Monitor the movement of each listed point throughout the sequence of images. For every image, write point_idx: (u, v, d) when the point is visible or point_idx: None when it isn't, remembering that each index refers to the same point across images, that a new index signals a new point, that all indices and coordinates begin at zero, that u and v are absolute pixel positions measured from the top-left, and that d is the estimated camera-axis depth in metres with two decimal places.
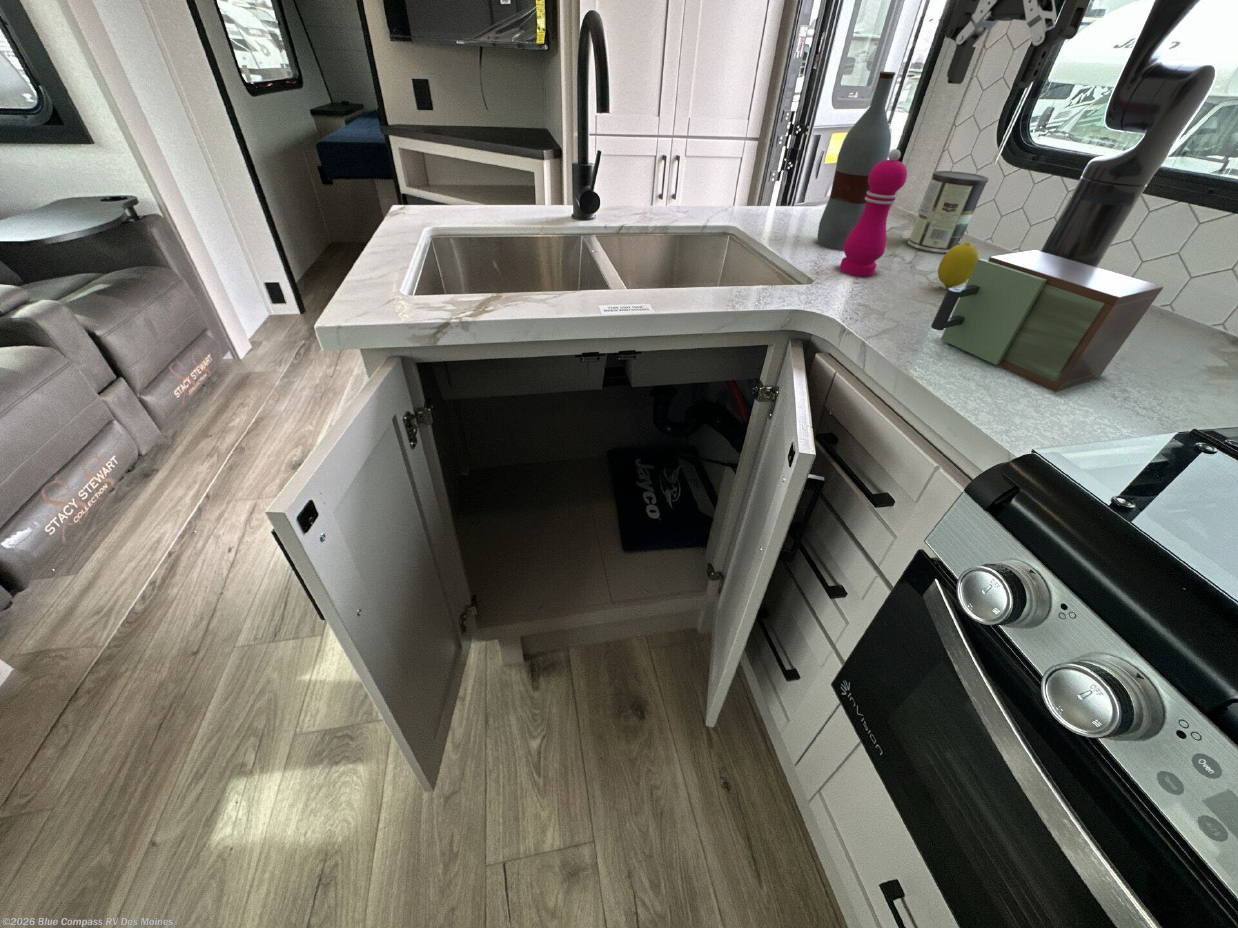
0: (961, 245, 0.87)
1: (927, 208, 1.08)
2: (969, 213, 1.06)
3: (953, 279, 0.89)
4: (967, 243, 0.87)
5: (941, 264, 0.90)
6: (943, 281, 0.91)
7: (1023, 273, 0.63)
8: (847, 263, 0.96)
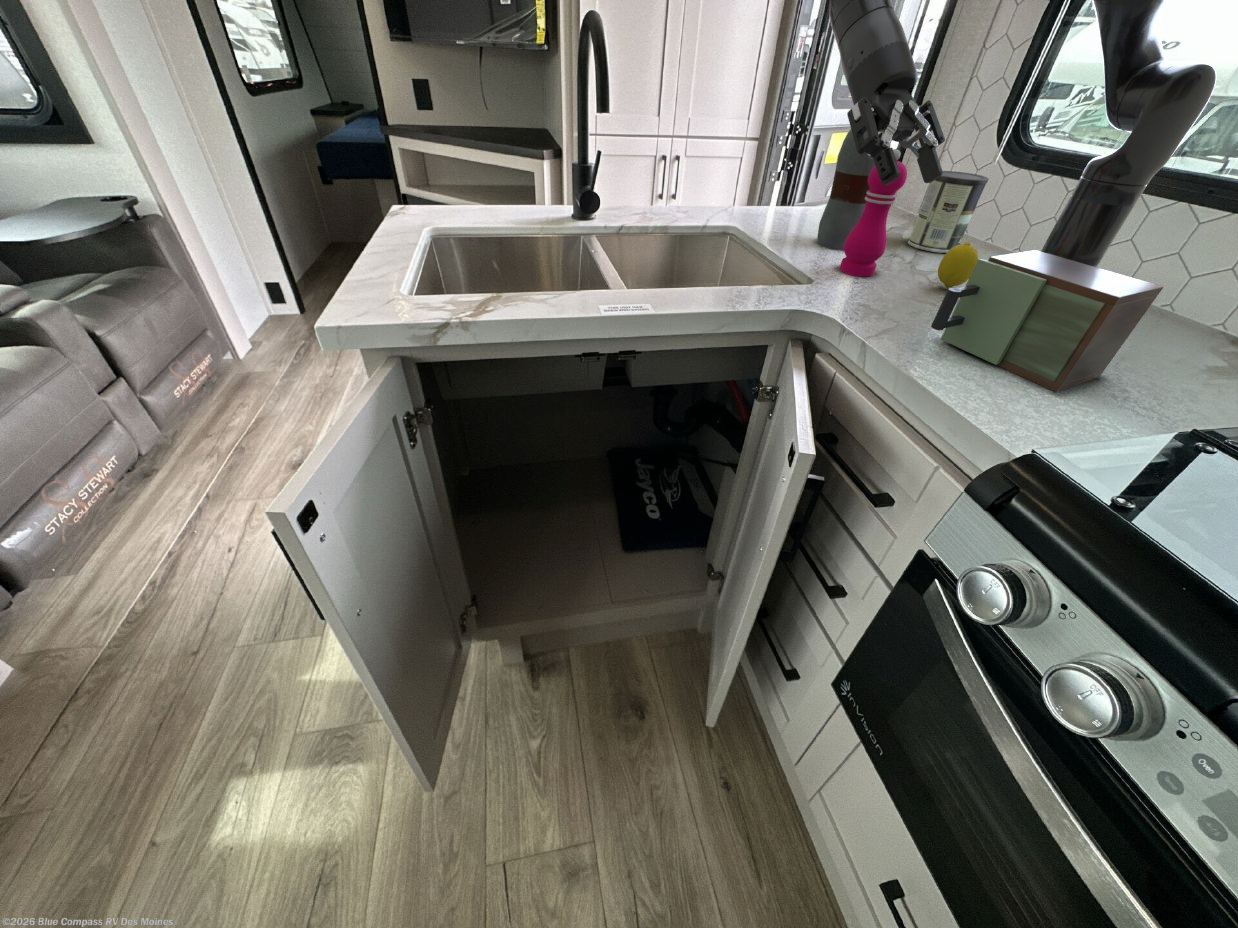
0: (961, 245, 0.87)
1: (927, 208, 1.08)
2: (969, 213, 1.06)
3: (953, 279, 0.89)
4: (967, 243, 0.87)
5: (941, 264, 0.90)
6: (943, 281, 0.91)
7: (1023, 273, 0.63)
8: (847, 263, 0.95)
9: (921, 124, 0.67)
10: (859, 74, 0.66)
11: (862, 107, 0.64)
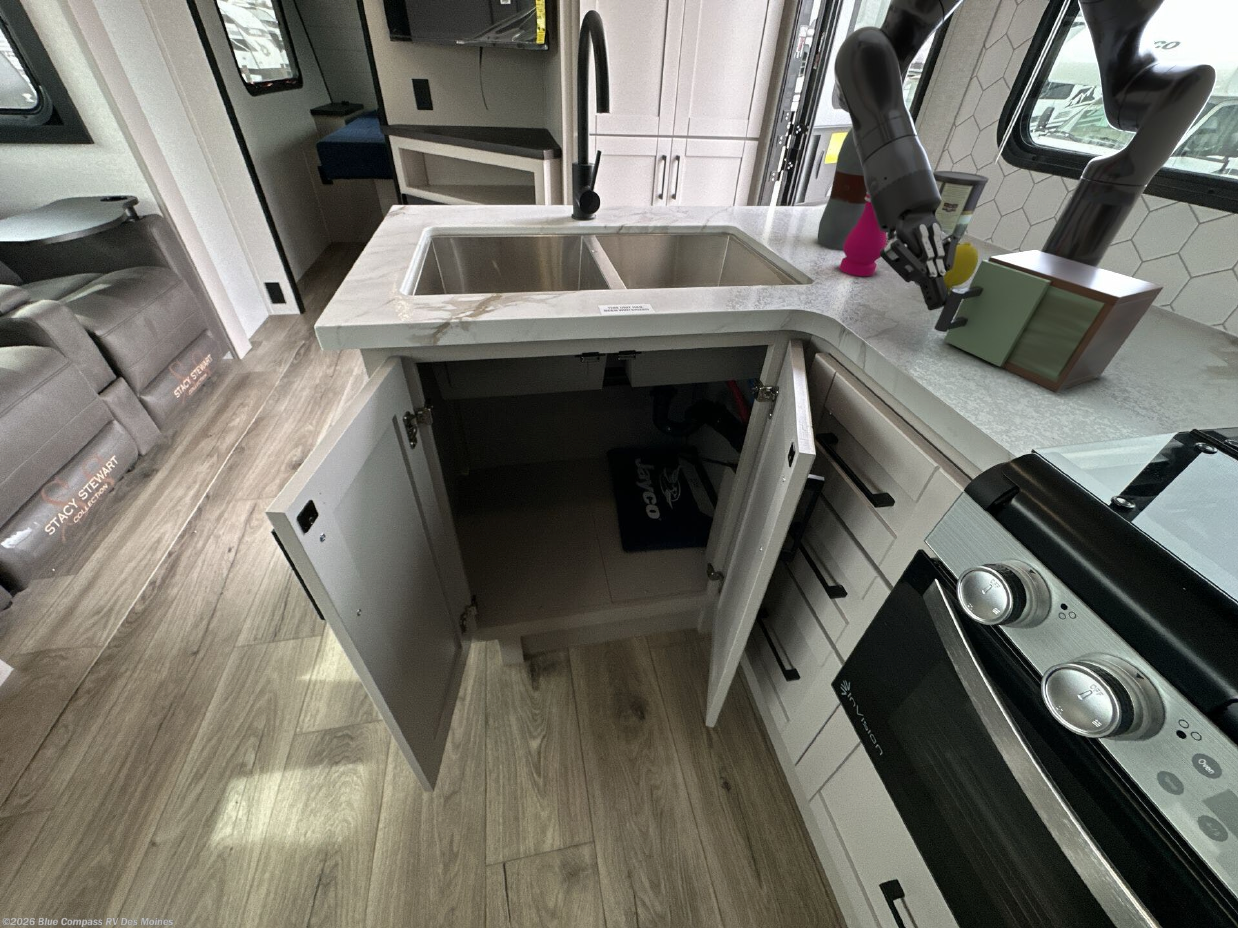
0: (961, 245, 0.87)
1: None
2: (969, 213, 1.06)
3: (953, 279, 0.89)
4: (967, 243, 0.87)
5: None
6: None
7: (1027, 274, 0.62)
8: (847, 263, 0.95)
9: (936, 247, 0.67)
10: (883, 198, 0.67)
11: (898, 251, 0.65)
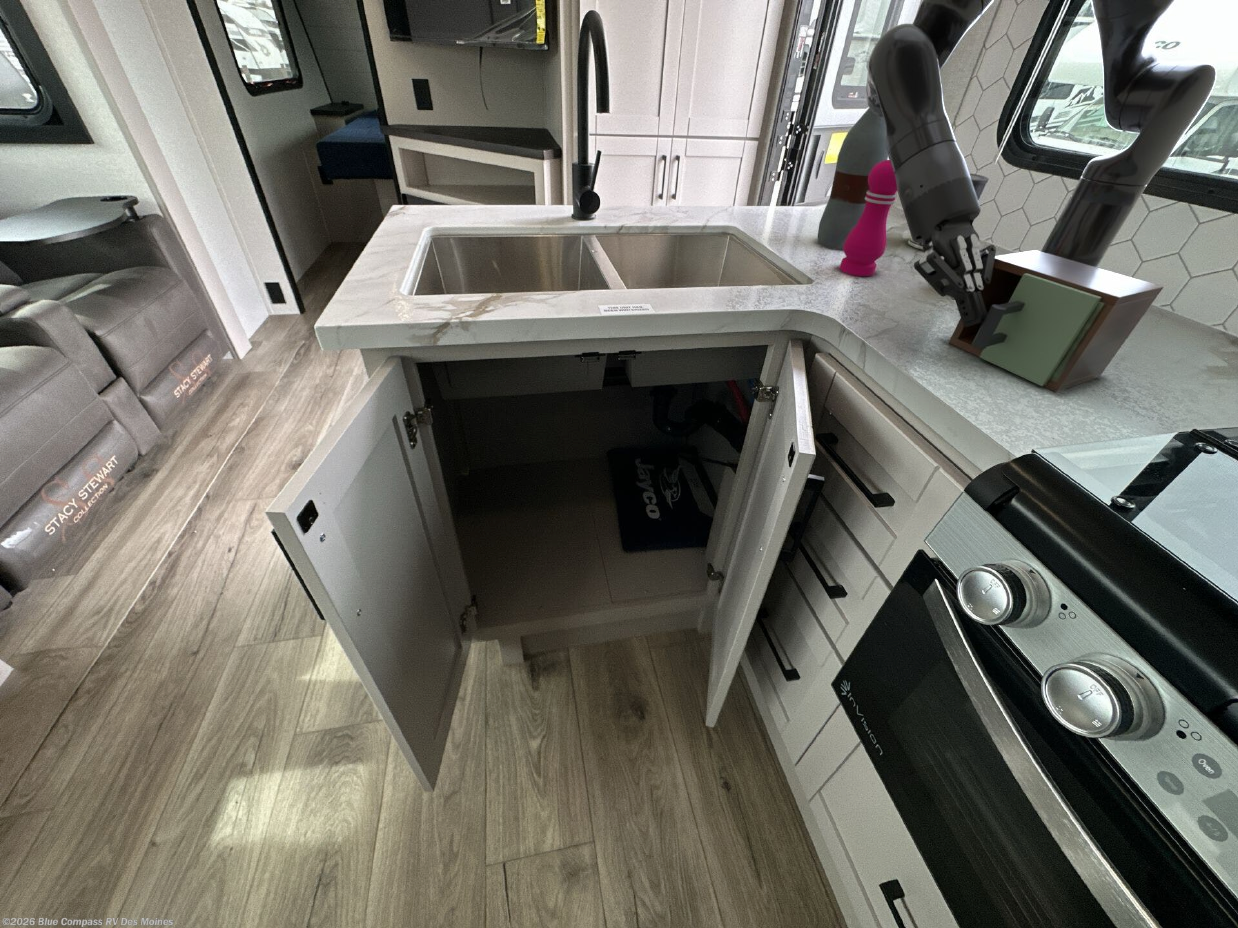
0: None
1: None
2: None
3: None
4: None
5: None
6: None
7: (1075, 290, 0.58)
8: (847, 263, 0.95)
9: (974, 260, 0.63)
10: (918, 207, 0.63)
11: (935, 264, 0.61)
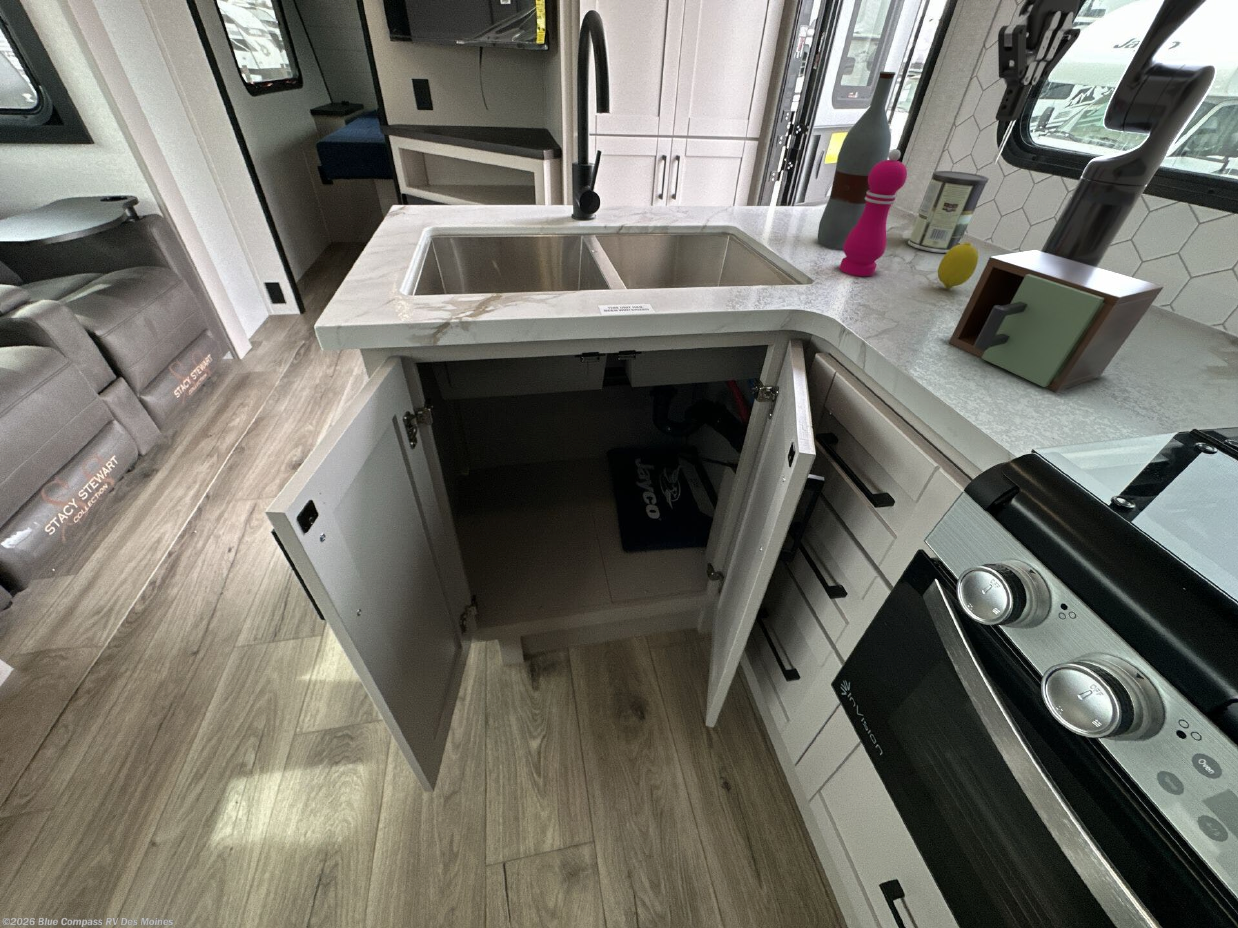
0: (961, 245, 0.87)
1: (927, 208, 1.08)
2: (969, 213, 1.06)
3: (953, 279, 0.89)
4: (967, 243, 0.87)
5: (941, 264, 0.90)
6: (943, 281, 0.91)
7: (1077, 291, 0.58)
8: (847, 263, 0.95)
9: (1051, 46, 0.62)
10: None
11: (1016, 41, 0.60)
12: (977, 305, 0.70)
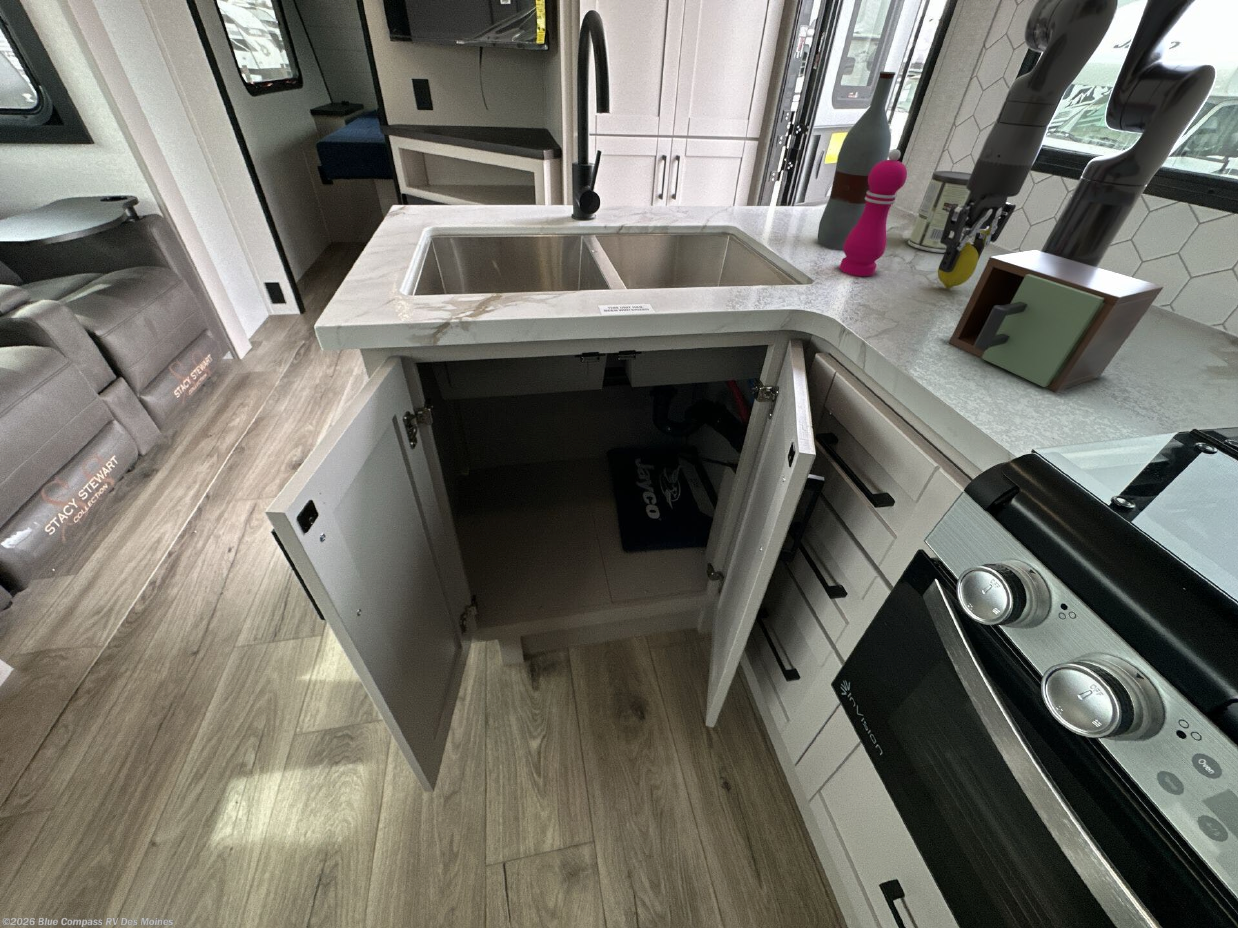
0: None
1: (927, 208, 1.08)
2: None
3: (953, 279, 0.89)
4: (967, 243, 0.87)
5: None
6: (943, 281, 0.91)
7: (1077, 291, 0.58)
8: (847, 263, 0.95)
9: (991, 228, 0.85)
10: (985, 170, 0.79)
11: (960, 218, 0.81)
12: (977, 305, 0.70)
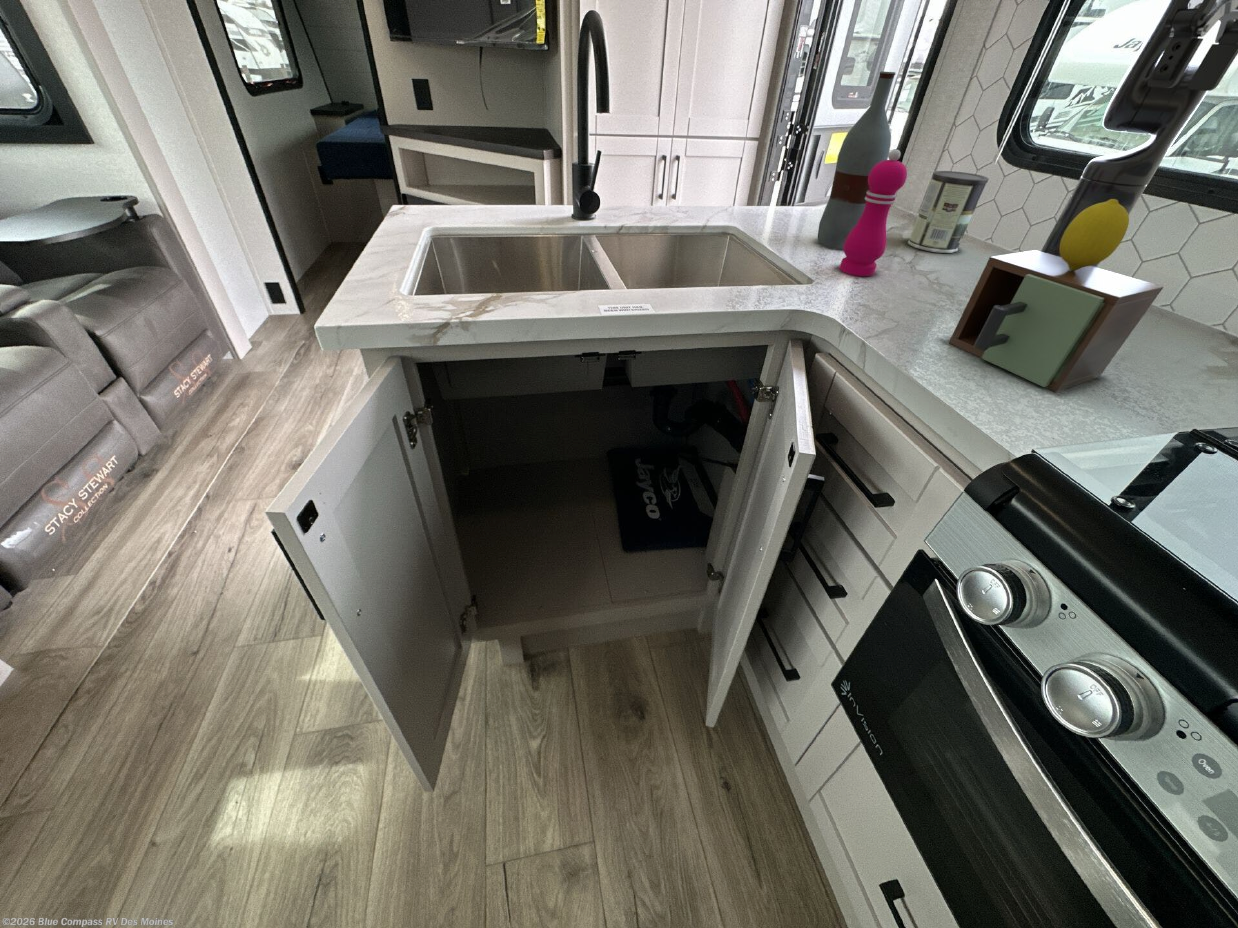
0: (1103, 204, 0.58)
1: (927, 208, 1.08)
2: (969, 213, 1.06)
3: (1088, 256, 0.60)
4: (1113, 200, 0.58)
5: (1068, 234, 0.61)
6: (1069, 259, 0.61)
7: (1077, 291, 0.58)
8: (847, 263, 0.95)
9: None
10: None
11: None
12: (977, 305, 0.70)
